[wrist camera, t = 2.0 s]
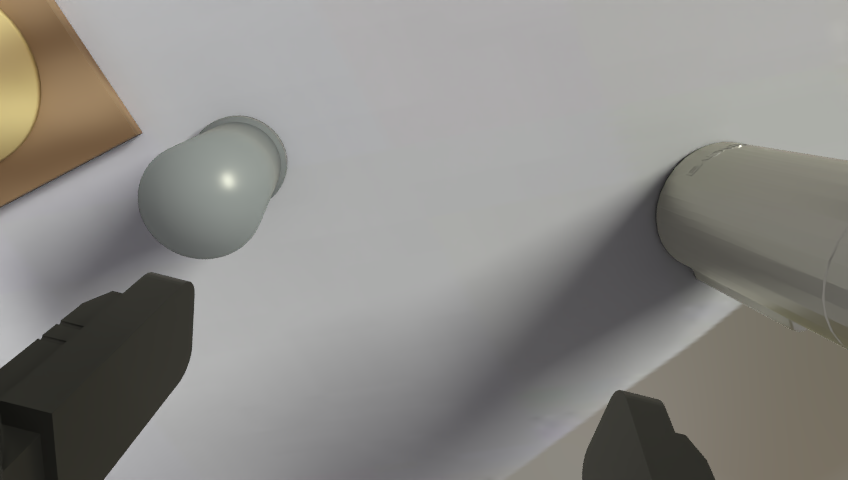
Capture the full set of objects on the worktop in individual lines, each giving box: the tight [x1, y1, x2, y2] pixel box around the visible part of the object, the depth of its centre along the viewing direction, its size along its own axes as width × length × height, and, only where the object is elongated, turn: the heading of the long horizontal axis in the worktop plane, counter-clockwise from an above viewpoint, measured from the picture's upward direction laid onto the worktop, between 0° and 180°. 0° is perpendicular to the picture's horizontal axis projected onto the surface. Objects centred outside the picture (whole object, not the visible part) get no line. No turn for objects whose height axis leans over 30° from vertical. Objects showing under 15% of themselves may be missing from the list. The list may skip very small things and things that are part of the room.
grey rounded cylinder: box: [138, 116, 287, 259], centre depth 29 cm, size 5×5×12 cm
